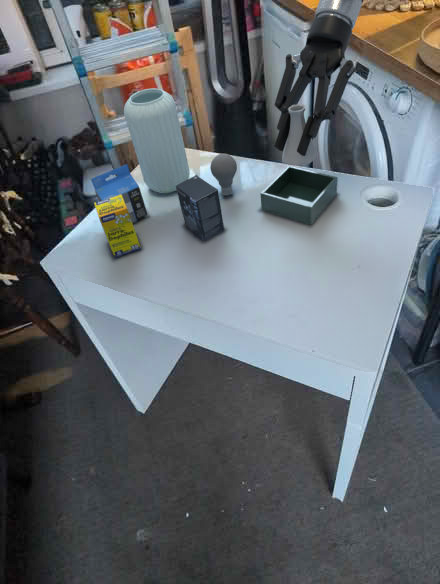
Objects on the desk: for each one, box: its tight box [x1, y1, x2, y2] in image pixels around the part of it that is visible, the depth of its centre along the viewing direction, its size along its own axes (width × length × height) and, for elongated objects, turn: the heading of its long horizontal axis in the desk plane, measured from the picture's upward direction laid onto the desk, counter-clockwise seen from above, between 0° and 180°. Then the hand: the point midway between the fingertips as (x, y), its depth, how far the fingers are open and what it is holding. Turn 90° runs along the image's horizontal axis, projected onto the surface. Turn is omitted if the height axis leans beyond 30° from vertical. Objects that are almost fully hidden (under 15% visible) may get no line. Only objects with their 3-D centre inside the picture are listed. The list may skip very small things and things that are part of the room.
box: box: [176, 174, 225, 242], centre depth 91 cm, size 8×6×11 cm
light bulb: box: [210, 153, 238, 196], centre depth 100 cm, size 6×6×10 cm
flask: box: [281, 103, 318, 166], centre depth 83 cm, size 7×7×10 cm
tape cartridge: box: [90, 163, 149, 224], centre depth 96 cm, size 9×4×12 cm, turn 123°
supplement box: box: [93, 194, 142, 259], centre depth 90 cm, size 6×6×11 cm
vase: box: [123, 87, 191, 194], centre depth 101 cm, size 12×12×22 cm
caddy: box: [259, 165, 339, 226], centre depth 95 cm, size 12×12×4 cm
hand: (289, 151), depth 82 cm, fingers closed on flask, 4 cm apart
